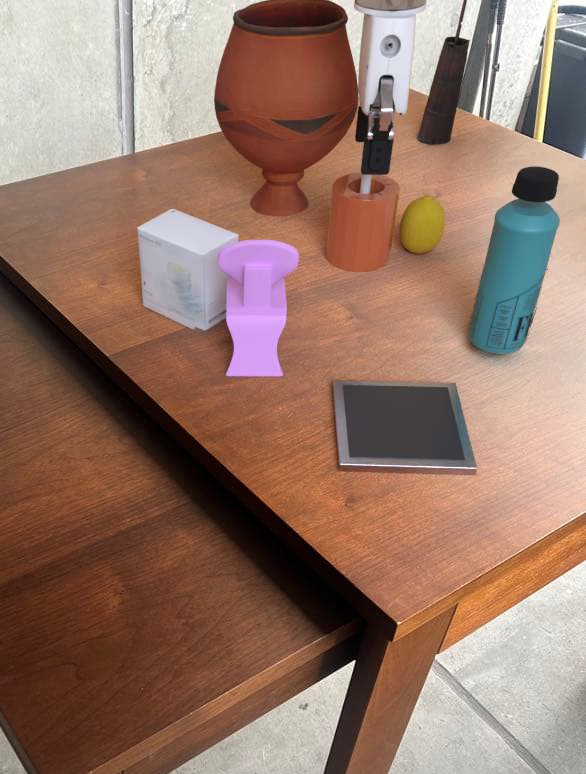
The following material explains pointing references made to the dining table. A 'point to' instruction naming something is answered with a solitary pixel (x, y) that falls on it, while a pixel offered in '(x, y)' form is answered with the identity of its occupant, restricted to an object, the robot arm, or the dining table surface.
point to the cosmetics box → (184, 268)
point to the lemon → (422, 225)
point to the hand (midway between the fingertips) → (371, 156)
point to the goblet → (286, 93)
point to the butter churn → (445, 89)
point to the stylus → (365, 184)
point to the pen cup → (361, 223)
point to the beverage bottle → (515, 263)
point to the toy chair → (256, 302)
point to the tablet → (401, 428)
